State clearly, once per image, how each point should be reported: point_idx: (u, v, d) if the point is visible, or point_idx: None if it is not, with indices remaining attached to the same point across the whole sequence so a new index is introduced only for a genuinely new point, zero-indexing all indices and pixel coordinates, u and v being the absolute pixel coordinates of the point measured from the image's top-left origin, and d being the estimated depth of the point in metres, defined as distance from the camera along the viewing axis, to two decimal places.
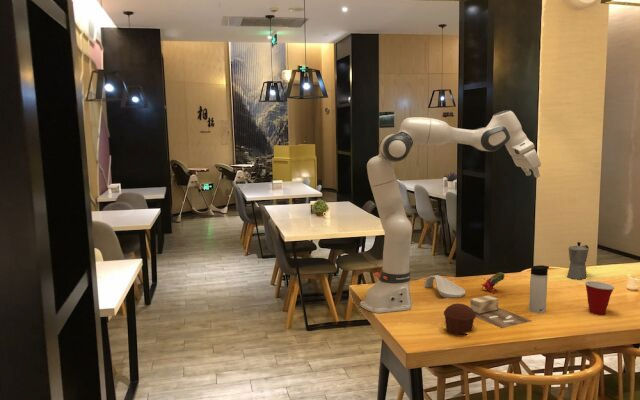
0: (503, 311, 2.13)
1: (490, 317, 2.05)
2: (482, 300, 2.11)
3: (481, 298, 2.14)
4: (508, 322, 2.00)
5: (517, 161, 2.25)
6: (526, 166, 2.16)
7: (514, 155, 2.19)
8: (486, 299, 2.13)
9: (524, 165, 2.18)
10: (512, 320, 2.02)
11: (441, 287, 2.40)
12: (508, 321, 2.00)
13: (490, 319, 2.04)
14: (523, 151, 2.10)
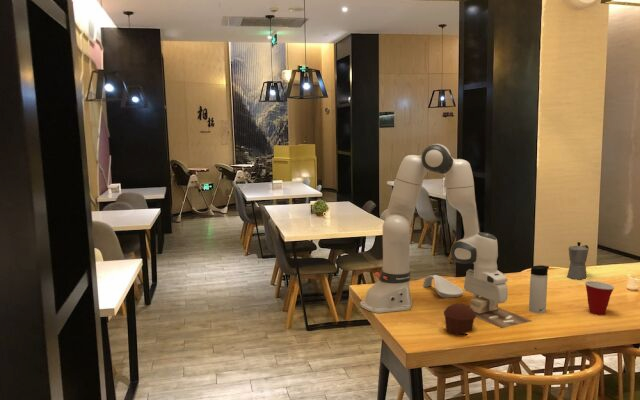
0: (503, 311, 2.13)
1: (490, 317, 2.05)
2: (482, 300, 2.11)
3: (481, 298, 2.14)
4: (508, 322, 2.00)
5: (471, 287, 2.17)
6: (487, 296, 2.09)
7: (479, 281, 2.11)
8: (486, 299, 2.13)
9: (484, 294, 2.11)
10: (512, 320, 2.02)
11: (439, 287, 2.41)
12: (508, 321, 2.00)
13: (490, 319, 2.04)
14: (498, 282, 2.04)
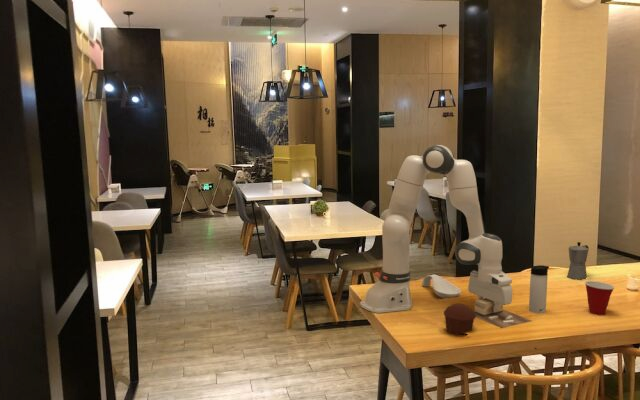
0: (503, 311, 2.13)
1: (490, 317, 2.05)
2: (486, 302, 2.09)
3: (485, 299, 2.12)
4: (508, 322, 2.00)
5: (475, 288, 2.15)
6: (492, 298, 2.07)
7: (483, 282, 2.09)
8: (491, 300, 2.11)
9: (488, 296, 2.09)
10: (512, 320, 2.02)
11: (437, 286, 2.41)
12: (508, 321, 2.00)
13: (490, 319, 2.04)
14: (503, 283, 2.02)
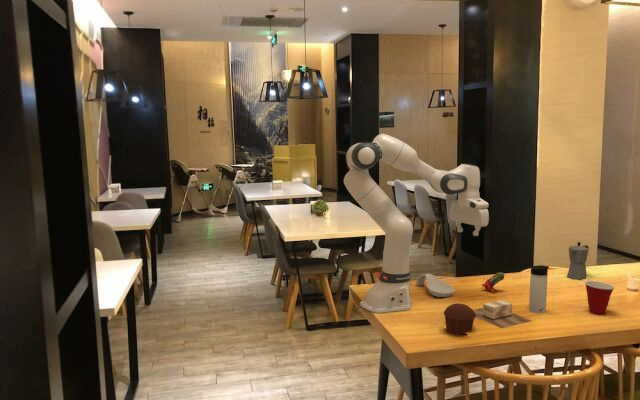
0: None
1: None
2: (495, 305, 2.05)
3: (494, 303, 2.08)
4: None
5: (456, 215, 2.32)
6: (470, 222, 2.25)
7: (463, 208, 2.26)
8: (500, 304, 2.06)
9: (467, 220, 2.26)
10: None
11: (431, 285, 2.43)
12: None
13: None
14: (480, 206, 2.19)
